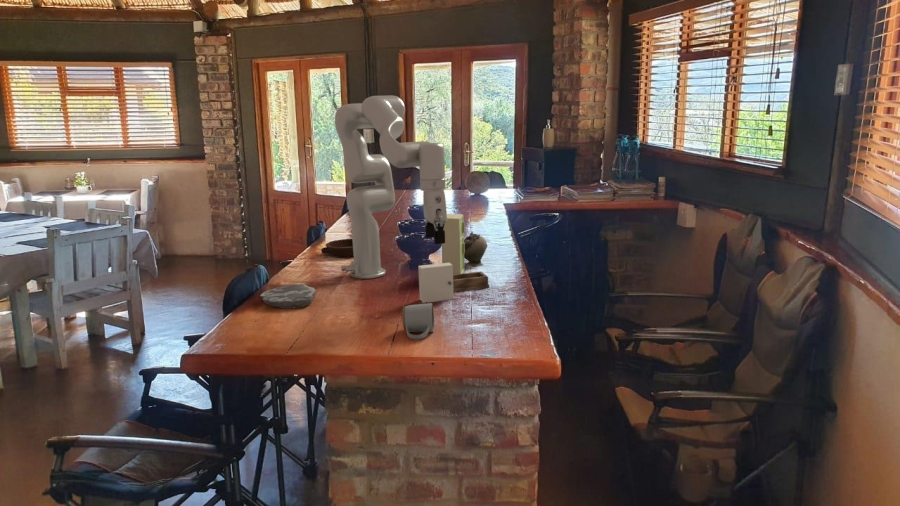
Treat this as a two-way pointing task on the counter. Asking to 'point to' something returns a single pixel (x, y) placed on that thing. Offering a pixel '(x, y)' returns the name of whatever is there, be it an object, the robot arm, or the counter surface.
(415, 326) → the ceramic mug
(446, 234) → the toy refrigerator
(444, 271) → the rectangular block
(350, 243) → the dish
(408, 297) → the counter surface
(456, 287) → the brown wooden tray
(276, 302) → the brain slice
